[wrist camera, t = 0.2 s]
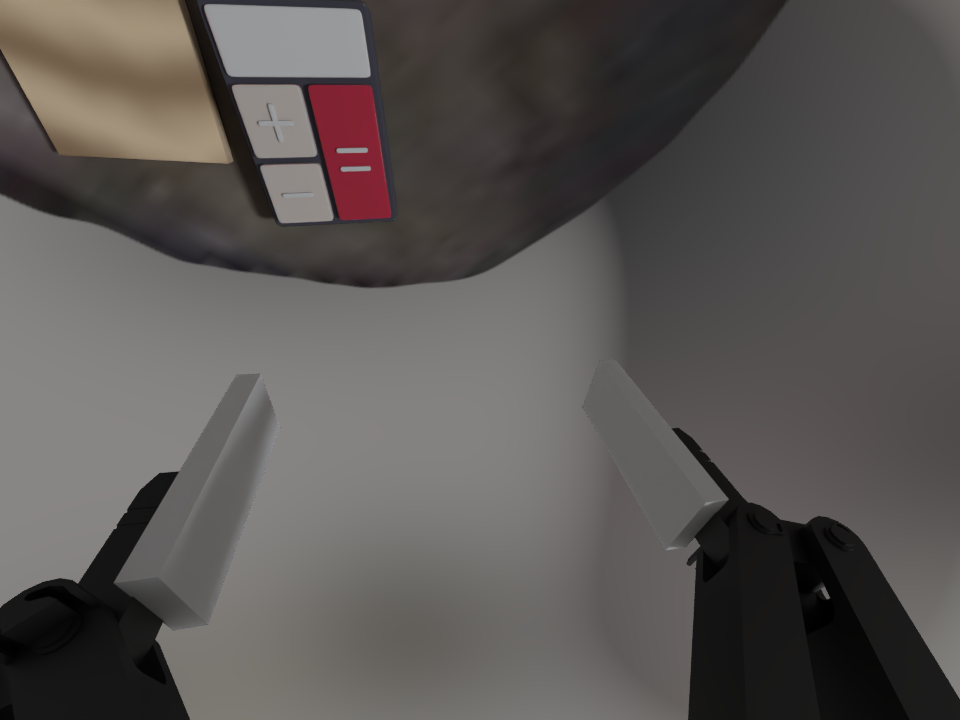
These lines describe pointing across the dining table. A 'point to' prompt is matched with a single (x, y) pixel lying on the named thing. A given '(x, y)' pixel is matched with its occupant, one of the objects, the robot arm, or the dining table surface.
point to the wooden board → (115, 78)
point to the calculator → (308, 105)
